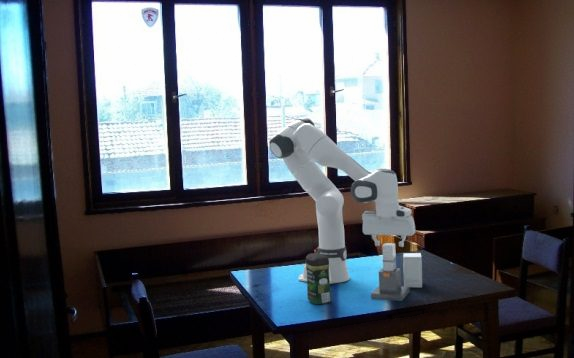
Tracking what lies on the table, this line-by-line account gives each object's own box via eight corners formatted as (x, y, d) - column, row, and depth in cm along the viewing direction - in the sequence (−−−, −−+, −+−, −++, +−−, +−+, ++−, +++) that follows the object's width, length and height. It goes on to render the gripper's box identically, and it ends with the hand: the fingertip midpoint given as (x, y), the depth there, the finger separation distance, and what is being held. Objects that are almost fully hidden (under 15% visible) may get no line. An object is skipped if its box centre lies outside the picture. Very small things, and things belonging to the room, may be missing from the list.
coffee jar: (304, 299, 234) (302, 253, 232) (322, 296, 237) (320, 250, 235) (315, 306, 225) (312, 258, 223) (334, 303, 228) (331, 255, 226)
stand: (371, 298, 231) (370, 273, 230) (380, 289, 242) (379, 265, 241) (401, 301, 226) (400, 275, 225) (409, 291, 236) (408, 267, 235)
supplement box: (422, 287, 241) (421, 256, 240) (403, 287, 243) (402, 257, 242) (422, 282, 249) (421, 252, 247) (404, 282, 250) (403, 252, 249)
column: (383, 290, 232) (382, 245, 231) (386, 287, 236) (385, 243, 234) (394, 291, 231) (392, 245, 229) (396, 288, 234) (395, 243, 233)
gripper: (359, 212, 232) (361, 247, 233) (411, 212, 223) (413, 248, 224) (364, 209, 238) (366, 243, 239) (415, 209, 229) (417, 245, 230)
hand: (389, 246), depth 232 cm, fingers open, 8 cm apart
